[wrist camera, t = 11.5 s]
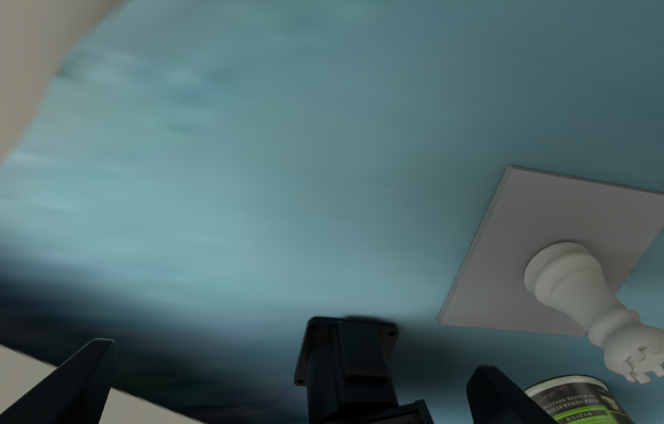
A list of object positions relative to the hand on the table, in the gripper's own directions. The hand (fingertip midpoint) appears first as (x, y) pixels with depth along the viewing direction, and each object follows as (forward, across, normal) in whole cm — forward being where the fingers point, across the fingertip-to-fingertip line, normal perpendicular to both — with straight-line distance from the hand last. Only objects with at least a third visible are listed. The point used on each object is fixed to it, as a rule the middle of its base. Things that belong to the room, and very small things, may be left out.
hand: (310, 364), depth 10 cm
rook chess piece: (+13, -18, +4) cm, 22 cm away
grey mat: (+13, -18, +4) cm, 22 cm away
